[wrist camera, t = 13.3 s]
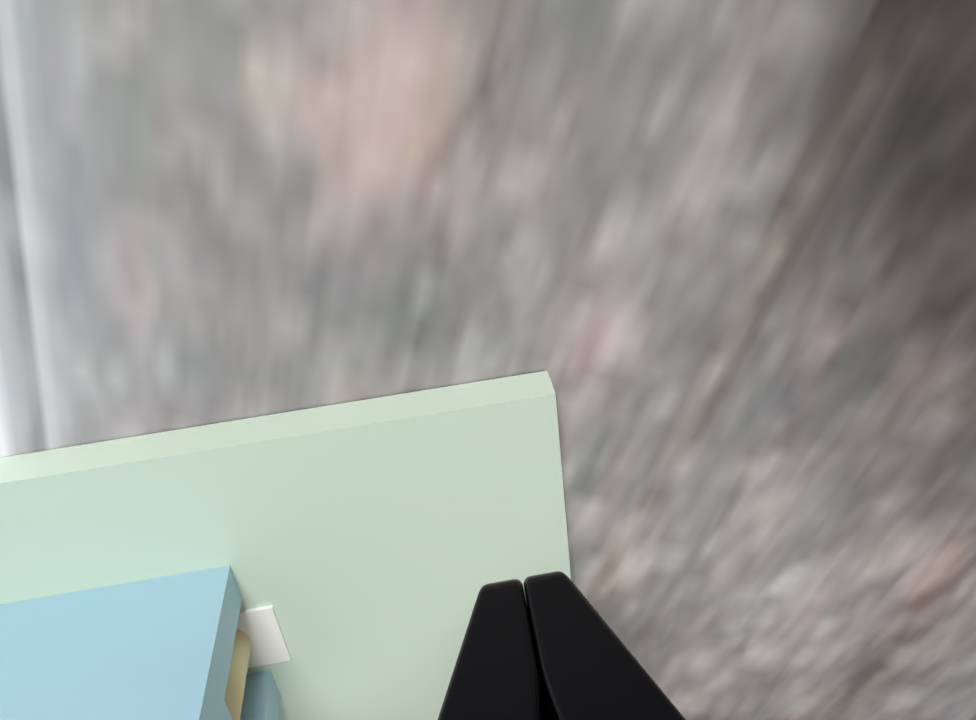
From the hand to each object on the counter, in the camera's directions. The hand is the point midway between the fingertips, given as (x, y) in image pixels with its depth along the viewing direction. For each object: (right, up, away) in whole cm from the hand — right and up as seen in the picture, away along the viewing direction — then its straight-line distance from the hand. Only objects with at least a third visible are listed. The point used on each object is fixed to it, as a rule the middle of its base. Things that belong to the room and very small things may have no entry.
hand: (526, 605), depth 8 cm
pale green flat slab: (-8, -4, +14) cm, 17 cm away
